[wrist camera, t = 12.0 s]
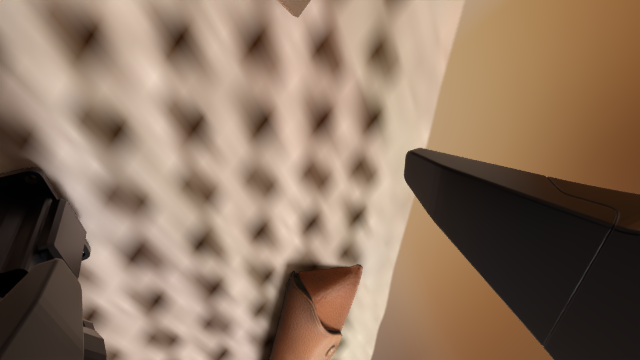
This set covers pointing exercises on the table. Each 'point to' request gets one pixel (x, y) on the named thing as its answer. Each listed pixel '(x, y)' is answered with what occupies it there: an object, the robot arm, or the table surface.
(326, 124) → the table surface
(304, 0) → the brown wooden block
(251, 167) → the table surface
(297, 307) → the sunglasses case
